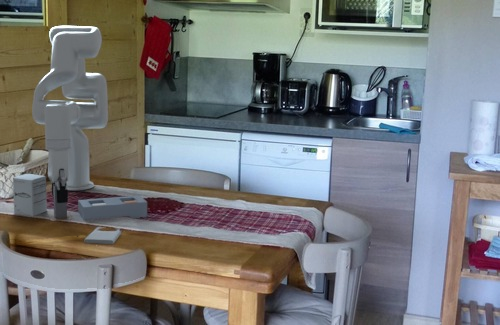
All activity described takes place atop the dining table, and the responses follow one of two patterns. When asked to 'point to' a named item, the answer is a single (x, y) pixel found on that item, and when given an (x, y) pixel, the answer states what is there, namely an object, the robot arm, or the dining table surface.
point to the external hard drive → (103, 236)
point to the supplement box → (29, 194)
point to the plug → (59, 205)
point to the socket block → (113, 207)
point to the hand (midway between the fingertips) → (59, 198)
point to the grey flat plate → (52, 218)
